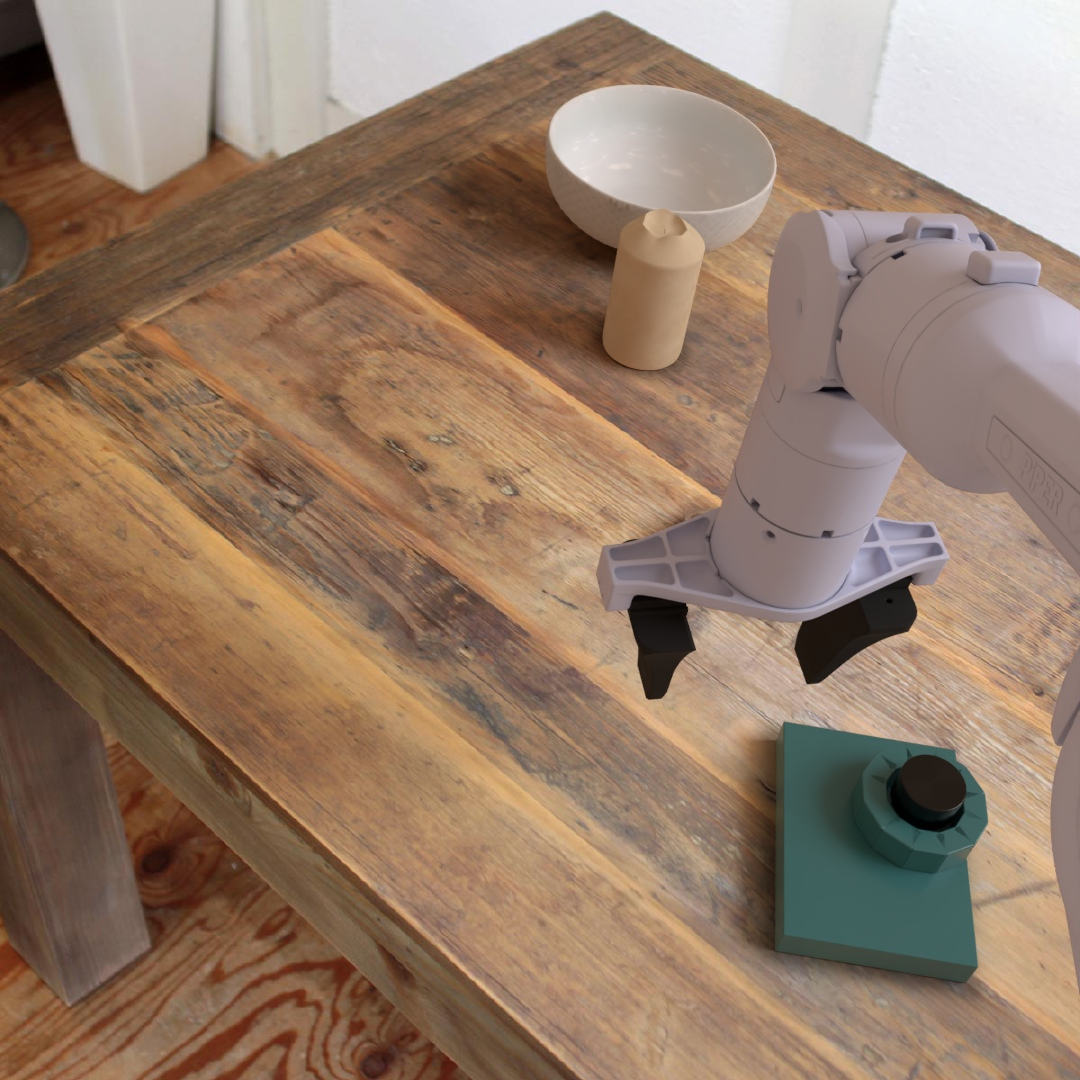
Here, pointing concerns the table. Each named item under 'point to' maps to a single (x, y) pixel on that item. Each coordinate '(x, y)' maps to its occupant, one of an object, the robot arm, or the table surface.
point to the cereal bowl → (657, 162)
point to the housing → (869, 858)
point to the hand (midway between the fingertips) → (729, 673)
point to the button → (928, 792)
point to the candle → (652, 290)
